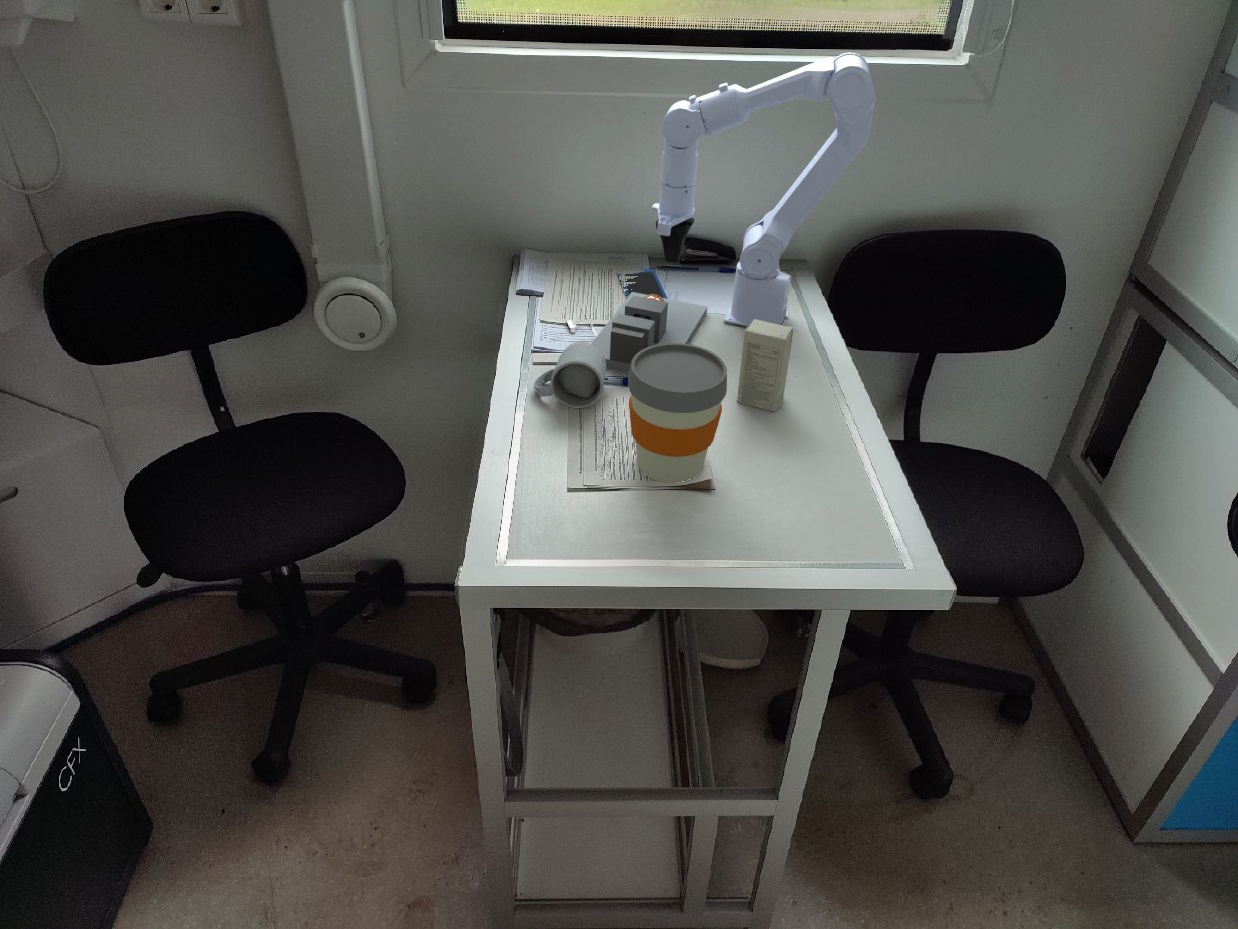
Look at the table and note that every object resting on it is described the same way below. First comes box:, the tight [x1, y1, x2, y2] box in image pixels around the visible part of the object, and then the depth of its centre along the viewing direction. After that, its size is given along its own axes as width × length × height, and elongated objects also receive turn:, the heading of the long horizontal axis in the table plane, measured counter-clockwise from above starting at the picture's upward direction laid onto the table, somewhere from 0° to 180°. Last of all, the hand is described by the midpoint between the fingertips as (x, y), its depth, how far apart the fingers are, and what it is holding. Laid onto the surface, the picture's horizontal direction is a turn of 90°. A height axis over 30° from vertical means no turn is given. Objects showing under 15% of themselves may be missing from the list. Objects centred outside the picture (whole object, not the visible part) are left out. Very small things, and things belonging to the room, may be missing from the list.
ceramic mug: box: [533, 341, 607, 409], centre depth 127 cm, size 11×8×8 cm
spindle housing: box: [590, 292, 708, 373], centre depth 141 cm, size 14×24×7 cm, turn 161°
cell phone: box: [617, 268, 669, 299], centre depth 159 cm, size 7×14×1 cm, turn 10°
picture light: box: [565, 316, 599, 338], centre depth 145 cm, size 14×4×2 cm, turn 15°
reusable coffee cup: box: [627, 343, 728, 484], centre depth 111 cm, size 13×13×15 cm
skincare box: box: [736, 319, 795, 412], centre depth 126 cm, size 6×4×12 cm
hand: (672, 260), depth 147 cm, fingers closed
